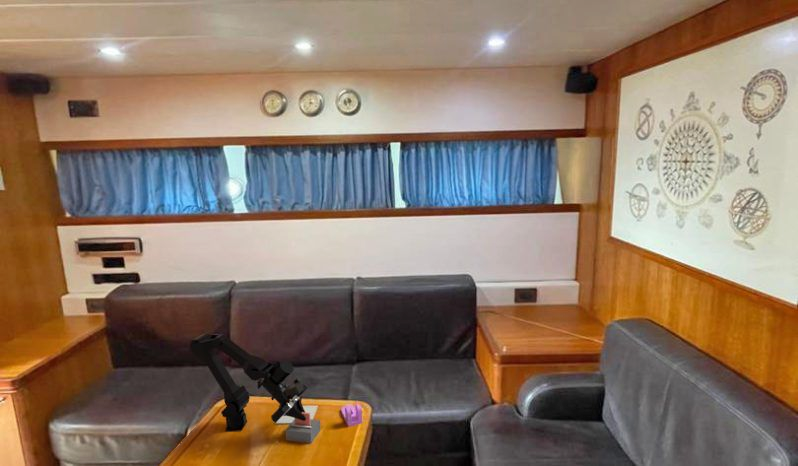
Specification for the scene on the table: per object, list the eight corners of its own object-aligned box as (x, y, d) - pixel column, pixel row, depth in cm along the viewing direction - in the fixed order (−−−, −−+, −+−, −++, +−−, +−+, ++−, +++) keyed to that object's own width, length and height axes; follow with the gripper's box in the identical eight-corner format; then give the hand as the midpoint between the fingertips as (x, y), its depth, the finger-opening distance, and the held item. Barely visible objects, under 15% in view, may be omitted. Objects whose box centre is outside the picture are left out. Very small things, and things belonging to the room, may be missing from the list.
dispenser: (286, 439, 163) (285, 428, 163) (296, 427, 171) (295, 415, 170) (311, 443, 161) (310, 431, 160) (320, 430, 169) (319, 418, 168)
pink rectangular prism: (295, 434, 166) (294, 412, 165) (296, 433, 167) (295, 411, 166) (310, 436, 165) (308, 414, 163) (311, 435, 166) (309, 413, 164)
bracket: (362, 423, 172) (361, 406, 171) (348, 427, 170) (347, 410, 169) (353, 406, 184) (352, 391, 183) (339, 410, 182) (338, 394, 181)
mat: (275, 424, 174) (275, 422, 173) (284, 407, 185) (284, 406, 185) (310, 423, 173) (310, 422, 173) (317, 406, 185) (317, 405, 185)
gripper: (276, 388, 154) (307, 421, 153) (300, 364, 172) (329, 393, 171) (258, 407, 158) (288, 439, 157) (284, 381, 175) (311, 410, 174)
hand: (305, 419), depth 165 cm, fingers closed on pink rectangular prism, 1 cm apart
